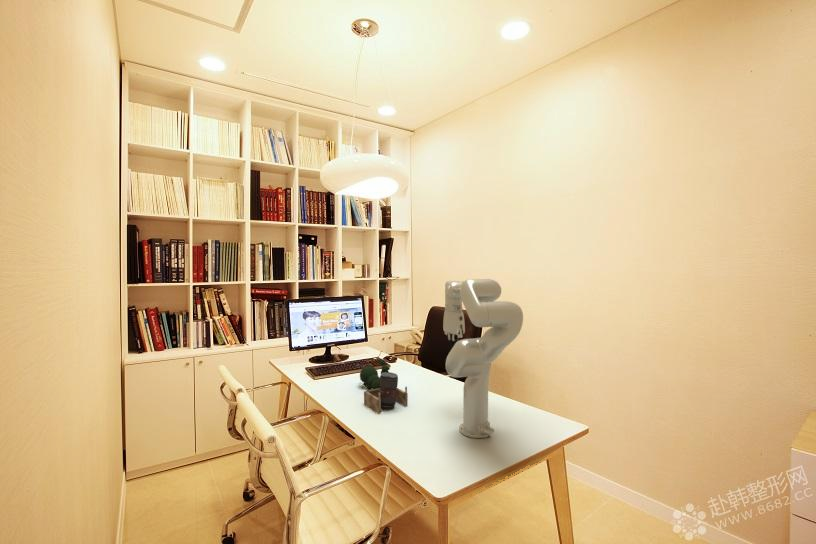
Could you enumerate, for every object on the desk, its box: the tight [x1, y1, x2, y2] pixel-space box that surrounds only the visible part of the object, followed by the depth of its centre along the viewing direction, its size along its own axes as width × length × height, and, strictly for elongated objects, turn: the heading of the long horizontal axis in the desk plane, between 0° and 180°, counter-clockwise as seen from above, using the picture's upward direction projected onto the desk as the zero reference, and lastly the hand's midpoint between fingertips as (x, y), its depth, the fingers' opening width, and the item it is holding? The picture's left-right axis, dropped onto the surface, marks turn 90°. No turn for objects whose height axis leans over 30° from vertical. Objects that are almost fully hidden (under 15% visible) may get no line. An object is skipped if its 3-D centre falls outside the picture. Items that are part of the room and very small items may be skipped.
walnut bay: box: [363, 386, 409, 415], centre depth 172 cm, size 13×15×9 cm
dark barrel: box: [379, 371, 399, 411], centre depth 169 cm, size 8×8×15 cm
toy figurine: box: [359, 358, 391, 391], centre depth 193 cm, size 9×19×25 cm
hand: (453, 348), depth 168 cm, fingers closed
